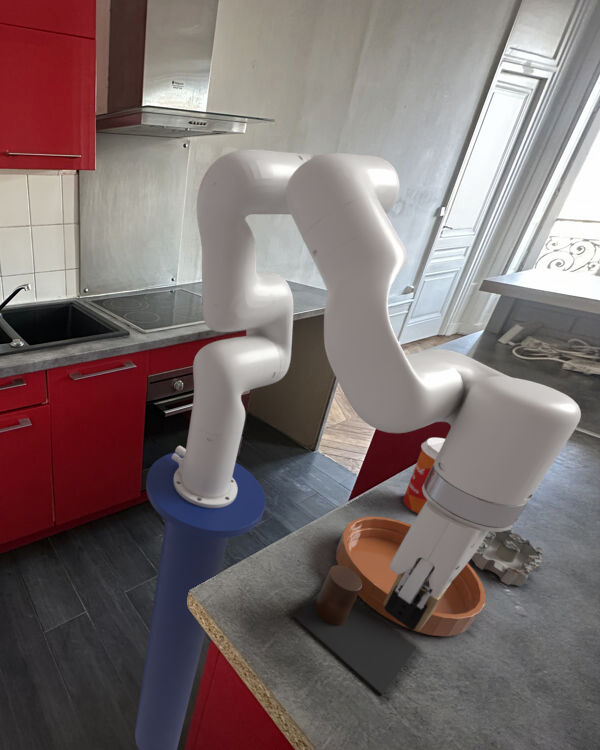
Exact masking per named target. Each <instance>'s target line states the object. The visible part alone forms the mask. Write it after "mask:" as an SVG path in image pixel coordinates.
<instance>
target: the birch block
mask: <svg viewBox="0 0 600 750" xmlns="http://www.w3.org/2000/svg"><path fill="white" fill-rule="evenodd" d="M404 573H405V572H404ZM404 573H402V574H399V575H398V576H397V578H396V580H395V582H394V584H393V586H392V588H391V590H390V592H389V594H388V595H387V597H386V599H385V601H384V603H383V604H384V605H385V606H386V604H387V602H388V600H389V598H390V596H391V594H392V592H393V590H394V588H395V587H396V586H398V584H399V583H400V581H401V579H402V577H403V575H404ZM427 581H429V580H427ZM450 584H451V583H450ZM450 584H449V585H448V586H447V587H446V588H445V590H444V591H443V592H442V593H441V594H440V595H439V596H438V597H432V596H430V598H429V599H428V601H427V603H426V604H425V605H426V606H428V607H427V609H426V611H425V612H424V614H423V616H422V617H421V619H420V621H419V623H418V624H417V626H416V627H415V628H416V629H418V630H419V631H420V630H421V629H422V627H423V626H424V624H425V623H426V622H427V620H428V619H429V618H430V616H431V615H432V614H433V612H434V611H435V609H436V607H437V606H438V604H439V602H440V601H441V599H442V597H443V596H444V594H445V592H446V591H447V589H448V587H449V586H450ZM424 592H425V590H424V589H422V588H421V589H420V591H419V592H418V594H420V595H421V597H422V595H423V594H424Z"/></svg>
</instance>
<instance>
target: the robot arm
mask: <svg viewBox="0 0 600 750" xmlns="http://www.w3.org/2000/svg"><path fill="white" fill-rule="evenodd" d="M400 185H401V184H400V177H399V174H398V172H397V170H396V168H395V167H394V166H393V164H391V163H390V162H389V161H387V160H386V159H384V158H383V157H380V156H376V155H370V154H358V153H346V152H330V153H324V154H315V153H314V154H313V153H302V152H289V151H288V152H287V151H276V150H270V149H269V150H267V149H241V150H235V151H231V152H228V153H225V154H223V155H221V156H220V157H218V158H217V159H215V161H214V162H213V163H211V165H210V166H209V167H208V169H207V170H206V172H205V173H204V175H203V177H202V179H201V181H200V184H199V187H198V191H197V197H196V207H195V208H196V219H197V225H198V226H197V227H198V231H199V238H200V246H201V311H202V312H201V313H202V318H203V322H204V323H205V325H206V327H207V328H208V329H209V330H211V331H214V332H217V333H233V332H239V331H245V333H246V335H243V336H236V337H231V338H225V339H220V340H216V341H213V342H210V343H208V344H206V345H204V346H203V347H201V348H200V349H199V350H198V352H197V353H196V355H195V356H194V360H193V363H192V375H193V401H192V408H191V413H190V414H191V415H190V421H189V426H188V427H189V428H188V435H187V441H186V447H183V446H181V445H178V446H177V447H176V448H175V451H174V453H175V454H173V455H172V459H173V460H174V461H176V462H178V463H179V468H178V469H177V470H176V472H175V474H174V479H173V481H174V487H175V489H176V491H177V492H178V493H179V494H180V495H181V496H182V497H183V498H184V499H185V500H187V501H189V502H190V503H193V504H195V505H198V506H201V507H206V508H221V507H224V506H227V505H229V504H231V503H232V502H233V501H234V500H235V498H236V495H237V490H238V488H237V484H236V482H235V480H234V479H233V477H232V475H233V471H234V466H235V462H236V463H237V457H238V453H239V448H240V443H241V440H242V436H243V435H242V434H243V431H244V426H245V422H246V409H245V406H244V404H243V401H242V395H243V394H244V393H245V392H249V391H251V390H253V389H257V388H262V387H265V386H269V385H272V384H275V383H277V382H279V381H281V380H282V379H283V378H284V377H285V375H287V373H288V371H289V369H290V364H291V358H292V345H293V326H294V307H295V306H294V296H293V292H292V290H291V287H290V284H289V283H288V282H287V280H286V279H285V278H284V277H283V276H281V275H280V274H278V273H276V272H272V271H257V254H258V252H257V251H258V250H257V243H256V239H255V236H254V233H253V230H252V228H251V226H250V225H249V223H248V222H247V219H246V218H247V217H248V216H250V215H290V216H291V218H292V220H293V221H294V224H295V226H296V227H297V229H298V232H299V234H300V236H301V238H302V240H303V242H304V244H305V246H306V248H307V251H308V253H309V255H310V256H311V259H312V261H313V262H314V264H315V267H316V270H317V271H318V273H319V276H320V277H321V279H322V282H323V284H324V286H325V288H326V293H327V296H326V301H325V307H324V312H323V313H324V314H323V342H324V343H323V344H324V349H325V353H326V357H327V360H328V363H329V366H330V368H331V371H332V372H333V374H334V376H335V378H336V380H337V382H338V384H339V387H340V389H341V391H342V393H343V395H344V397H345V398H346V400H347V402H348V404H349V405H350V407H351V409H352V410H353V412H355V414H356V415H357V416H358V417H359V418H360V419H361V420H362V421H363V422H364V423H366V424H367V425H368V426H369V427H372V428H374V429H375V430H378V431H380V432H384V433H387V434H388V433H389V434H405V433H409V432H413V431H418V430H419V429H422V428H425V427H427V426H430V425H432V424H434V423H448V424H449V425H450V429H449V431H448V432H447V435H446V437H445V438H444V439H445V441H444V443H443V445H442V447H441V449H440V451H439V453H438V456H437V458H436V460H435V462H434V464H433V466H432V468H431V470H430V472H429V474H428V476H427V478H426V480H425V483H424V485H423V487H422V492H423V494H424V496H425V497H426V499H427V502H426V503H425V505H424V506H423V508H422V509H421V511H420V512H419V514H418V513H417V516H416V517H415V519H414V520H413V522H412V523H411V525H412V526H411V527H410V529H409V531H408V533H407V534H406V536H405V538H404V540H403V542H402V543H401V545H400V547H399V549H398V551H397V552H396V554H395V556H394V558H393V559H392V561H391V563H390V569H391V571H394V572H395V573H396V574H398V575H399V574H402V573H404V572H405V573H404V575H403V577H402V579H401V581H400V583H399V584H398V586H396V587H395V588H394V590H393V592H392V594H391V596H390V598H389V600H388V602H387V604H386V606H385V610H386V612H388V613H389V614H390V615H392V616H393V617H394V618H396V619H397V620H398V621H400V622H401V623H403V624H404V625H405V626H407V627H408V628H409V630H412V631H414V629H415V627H416V626H417V624H418V623H419V621H420V619H421V617H422V616H423V614H424V612H425V611H426V609H427V607H428V606H426V605H425V604H426V603H427V601H428V599H429V598H430V596H432V597H438V596H439V595H440V594H441V593H442V592H443V591H444V590H445V588H446V587H447V586H448V585H449V584H450V583H451V582H452V581H453V580H454V579H455V577H456V576H457V575H458V574H459V573H460V572H461V570H462V569H463V568H464V567H465V566H466V564H467V563H468V564H469V562H470V560H472V559H471V558H472V556H473V555H474V554H475V552H476V551H477V549H478V548H479V546H480V545H481V543H482V542H483V540H484V538H485V537H486V535H487V534H488V532H489V531H491V532H503V531H507V530H512V528H513V527H514V525H515V523H516V522H517V520H518V519H519V517H520V516H521V515H522V513H523V511H524V509H525V508H526V506H527V505H528V503H529V502H530V500H531V498H532V497H533V495H534V494H535V492H536V491H537V489H538V487H539V486H540V484H541V483H542V481H543V480H544V478H545V476H546V475H547V473H548V472H549V471H550V469H551V467H552V466H553V464H554V463H555V461H556V459H557V458H558V456H559V455H560V453H561V451H562V450H563V449H564V447H565V445H566V444H567V442H568V441H569V439H570V438H571V436H572V435H573V433H574V432H575V430H576V429H577V427H578V425H579V423H580V421H581V417H582V411H581V408H580V406H579V404H578V403H577V402H576V400H574V399H573V398H571V397H570V396H569V395H567V394H565V393H563V392H561V391H559V390H557V389H555V388H552V387H550V386H547V385H544V384H542V383H538V382H535V381H531V380H527V379H522V378H517V377H512V376H509V375H507V374H505V373H503V372H500V371H498V370H496V369H494V368H493V367H490V366H488V365H486V364H484V363H482V362H480V361H478V360H476V359H474V358H472V357H470V356H468V355H466V354H463V353H460V352H457V351H454V350H450V349H442V348H437V349H436V348H432V349H427V350H422V351H419V352H416V353H412V354H411V353H410V354H407V355H406V353H405V351H404V349H403V348H402V346H401V343H400V341H399V340H398V337H397V335H396V333H395V330H394V329H393V326H392V322H391V318H390V313H389V297H390V292H391V289H392V286H393V284H394V282H395V280H396V279H397V278H398V276H399V274H400V273H401V271H402V270H403V269H404V267H405V266H406V264H407V261H408V251H407V249H406V247H405V245H404V244H403V241H402V240H401V239H400V237H399V234H398V233H397V231H396V229H395V227H394V226H393V224H392V222H391V221H390V219H389V217H388V214H389V213H390V212H391V211H392V210H393V207H394V206H395V204H396V202H397V200H398V198H399V194H400V189H401V188H400V187H401V186H400ZM176 453H177V454H178V455H179V456H178V455H177V454H176ZM180 456H181V457H183V458H180ZM427 580H429V581H427ZM421 588H422V589H424V590H425V592H424V594H423V595H422V597H421V595H420V594H418V592H419V591H420V589H421ZM408 628H407V629H408Z"/></svg>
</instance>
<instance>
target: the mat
mask: <svg viewBox="0 0 600 750" xmlns="http://www.w3.org/2000/svg"><path fill="white" fill-rule="evenodd" d="M320 592H321V589H320V590H319V591H318V592H317V593H316V594H315V595H314V596H313V597H311V598H310V599H309V600H308V601H307V602H306V603H305V604H304V605H303V606H302V607H301V608H300V609H299V610H298V611H297V612H296V613H294V615H293V616H292V618H293V619H294V620H295V621H296V622H297V623H299V624H300V625H301V626H302V627H303V628H304V629H305V630H307V632H308V633H310V634H311V635H312V636H313V637H314V638H316V640H318V641H319V642H320V643H321V644H322V645H323V646H324V647H326V648H327V649H328V650H329V651H330V652H331V653H332V654H334V655H335V656H336V657H337V659H339V660H340V661H341V662H343V664H345V665H346V666H347V667H348V668H349V669H350V670H351V671H353V672H354V674H356V675H357V676H358V677H359V678H360V679H362V680H363V681H364V682H365V683H366V684H367V685H368V686H370V688H371V689H372V690H374V692H376V693H377V694H378V695H379V696H381V697H382V696H383V695H384V694H385V692H386V691H387V690H388V688H389V687H390V685H391V684H392V682H393V681H394V679H395V678H396V677H397V676H398V674H399V673H400V671H401V670H402V668H403V667H404V666H405V665H406V663H407V662H408V660H409V659H410V657H411V656H412V655H413V654H414V652H415V650H416V649H417V647H416V646H414V645H413V644H412V643H411V642H409V641H408V640H407V639H406V638H405V637H403V636H402V635H401V634H399V633H398V632H397V631H396V630H394V629H393V628H391V627H390V626H388V625H387V624H386V623H385V622H383V621H382V620H381V619H380V618H378V617H377V616H376V615H374V614H373V613H372V612H371V611H369V610H368V609H366V608H365V607H364V606H362V605H361V604H360V603H359V602H357V601H356V600H355V602H354V604H353V606H352V608H351V610H350V612H349V614H348V617H347V619H346V621H345V623H344V624H343V625H340V626H334V625H331V624H329V623H327V622H325V621H324V620H323V619H322V618H321V617H320V616H319V615H318V614H317V612H316V609H315V604H316V601H317V599H318V596H319V594H320Z"/></svg>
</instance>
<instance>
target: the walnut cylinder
mask: <svg viewBox="0 0 600 750" xmlns="http://www.w3.org/2000/svg"><path fill="white" fill-rule="evenodd" d="M361 587H362V582H361V579H360V578H359V576H358V575H357V574H356V573H355V572H354V571H352V570H351V569H349V568H347V567H344V566H340V565H338V564H337V565H332V566H331V567H330V568H329V571H328V573H327V575H326V577H325V579H324V582H323V585H322V587H321V589H320V590H321V592H320V594H319V596H318V599H317V601H316V604H315V609H316V612H317V614H318V615H319V616H320V617H321V618H322V619H323V620H324V621H325V622H327V623H329V624H331V625H334V626H340V625H343V624H344V623H345V621H346V619H347V617H348V614H349V612H350V610H351V608H352V606H353V604H354V602H355V601H356V600H357V598H358V597H359V596H358V594H359V592H360V589H361Z"/></svg>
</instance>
